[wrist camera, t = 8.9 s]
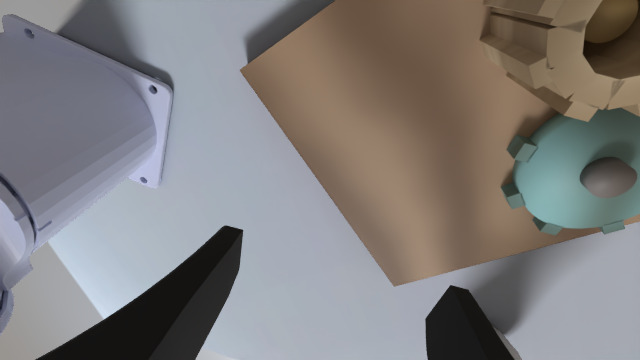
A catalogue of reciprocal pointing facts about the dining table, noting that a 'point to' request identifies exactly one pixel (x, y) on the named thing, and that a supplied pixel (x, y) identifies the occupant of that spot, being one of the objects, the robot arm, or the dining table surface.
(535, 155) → the gear board
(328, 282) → the dining table surface
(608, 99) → the wooden gear
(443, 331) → the robot arm
